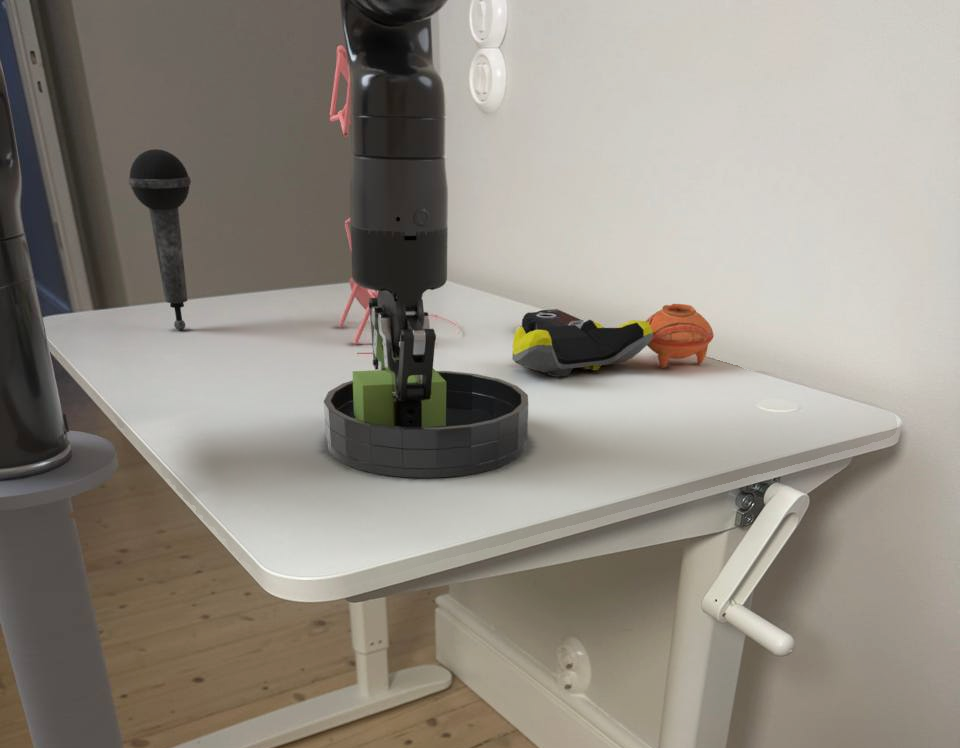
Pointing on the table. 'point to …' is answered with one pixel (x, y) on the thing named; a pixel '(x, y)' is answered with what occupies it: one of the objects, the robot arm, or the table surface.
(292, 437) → the table surface
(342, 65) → the figurine
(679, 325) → the pot
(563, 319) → the camera
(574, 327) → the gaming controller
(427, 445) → the pan
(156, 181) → the microphone
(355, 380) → the sponge
